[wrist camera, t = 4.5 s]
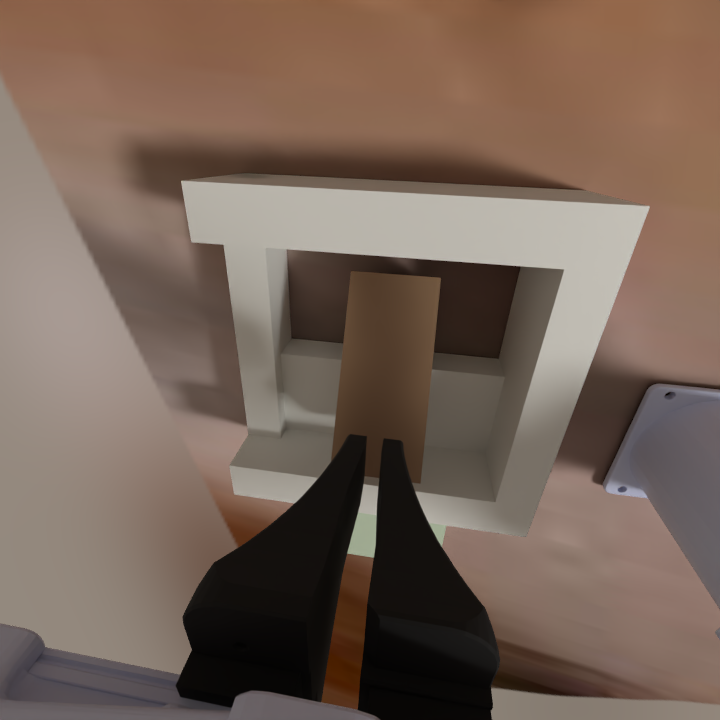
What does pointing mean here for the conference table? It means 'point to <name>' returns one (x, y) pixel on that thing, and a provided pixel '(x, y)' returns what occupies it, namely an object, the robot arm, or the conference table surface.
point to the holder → (449, 371)
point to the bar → (387, 365)
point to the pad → (366, 535)
